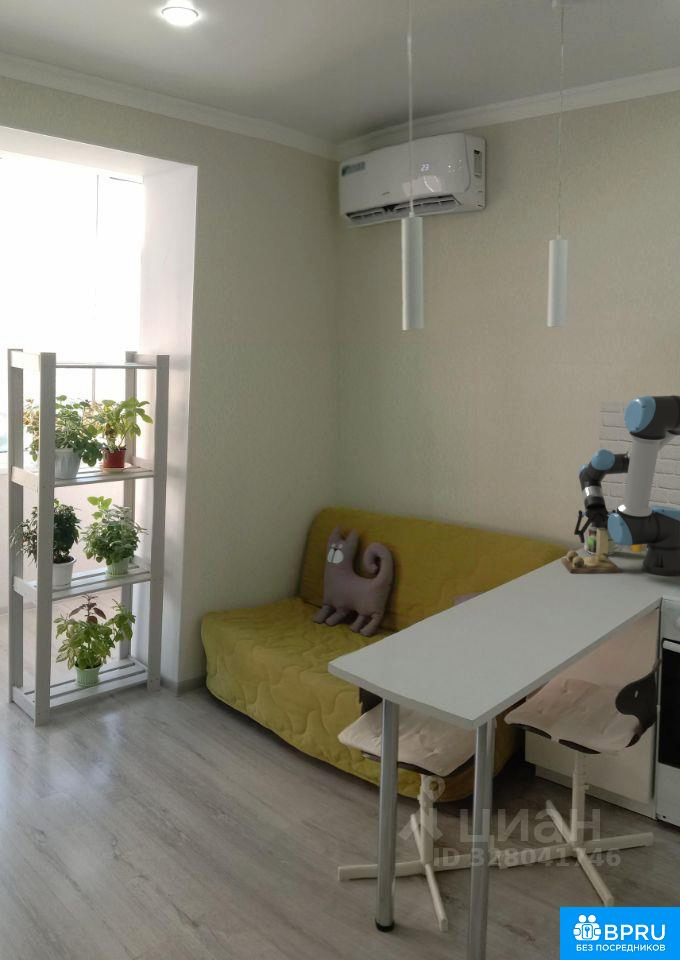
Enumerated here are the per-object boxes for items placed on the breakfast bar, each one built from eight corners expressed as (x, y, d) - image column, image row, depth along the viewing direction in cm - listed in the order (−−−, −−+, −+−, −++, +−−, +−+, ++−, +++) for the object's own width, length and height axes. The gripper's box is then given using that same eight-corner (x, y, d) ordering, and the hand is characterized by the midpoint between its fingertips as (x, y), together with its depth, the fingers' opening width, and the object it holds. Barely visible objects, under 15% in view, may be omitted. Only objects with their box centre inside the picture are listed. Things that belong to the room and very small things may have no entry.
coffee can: (594, 556, 318) (594, 520, 316) (583, 550, 328) (584, 515, 326) (619, 554, 319) (620, 519, 317) (608, 549, 329) (608, 514, 327)
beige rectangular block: (605, 559, 303) (606, 527, 301) (608, 562, 298) (609, 530, 297) (594, 559, 303) (595, 527, 302) (597, 562, 299) (598, 530, 297)
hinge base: (608, 561, 309) (608, 548, 308) (619, 572, 293) (620, 558, 292) (561, 562, 310) (561, 549, 309) (570, 573, 294) (570, 559, 293)
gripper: (623, 505, 313) (634, 554, 300) (561, 506, 314) (569, 555, 301) (628, 494, 307) (639, 543, 294) (564, 495, 308) (572, 544, 295)
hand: (603, 549), depth 297 cm, fingers open, 11 cm apart
